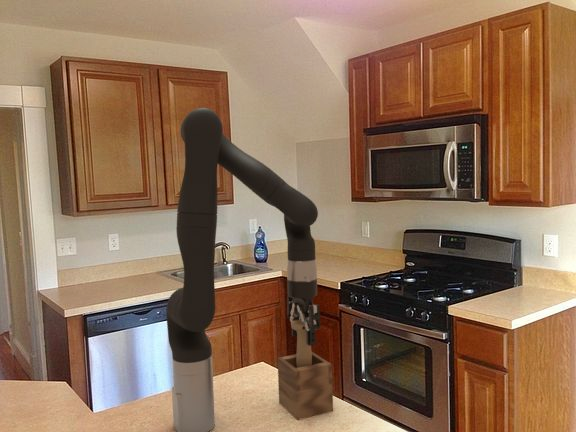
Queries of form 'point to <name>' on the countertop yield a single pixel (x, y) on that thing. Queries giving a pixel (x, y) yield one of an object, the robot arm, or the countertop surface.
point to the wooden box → (305, 386)
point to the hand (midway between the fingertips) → (303, 340)
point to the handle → (302, 344)
